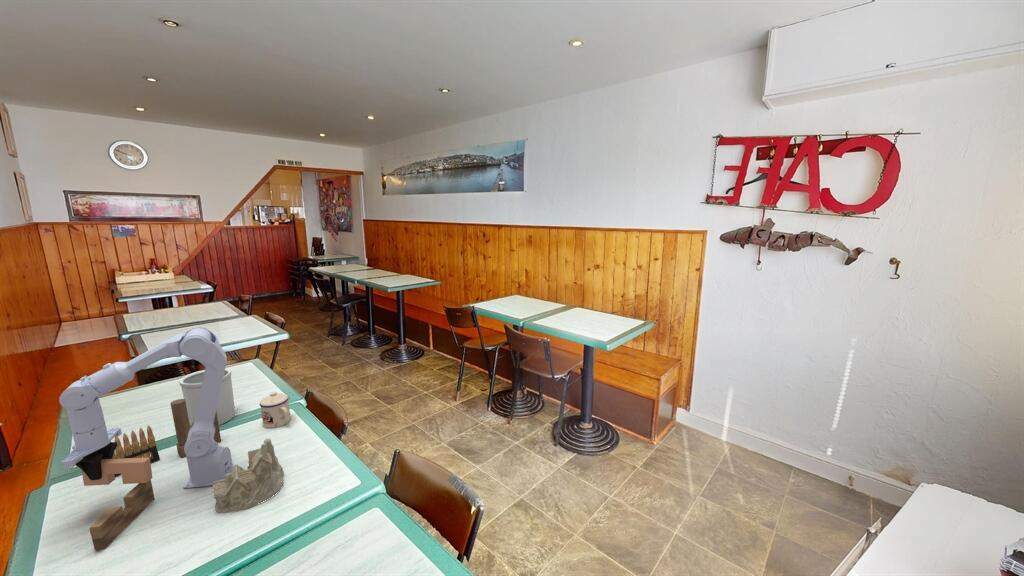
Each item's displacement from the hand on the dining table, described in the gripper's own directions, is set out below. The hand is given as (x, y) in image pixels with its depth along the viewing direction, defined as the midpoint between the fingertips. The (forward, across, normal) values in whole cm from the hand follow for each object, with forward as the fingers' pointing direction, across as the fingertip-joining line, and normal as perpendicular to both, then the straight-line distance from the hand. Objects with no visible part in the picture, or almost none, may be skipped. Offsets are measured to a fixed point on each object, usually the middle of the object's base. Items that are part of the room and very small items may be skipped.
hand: (100, 475), depth 100 cm
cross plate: (+2, 0, +4) cm, 4 cm away
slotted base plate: (+9, +7, +9) cm, 15 cm away
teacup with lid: (+10, -37, +27) cm, 47 cm away
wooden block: (+10, -25, +8) cm, 28 cm away
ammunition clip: (+10, -17, -5) cm, 20 cm away
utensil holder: (+10, -44, +1) cm, 45 cm away
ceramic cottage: (+10, -1, +34) cm, 36 cm away
